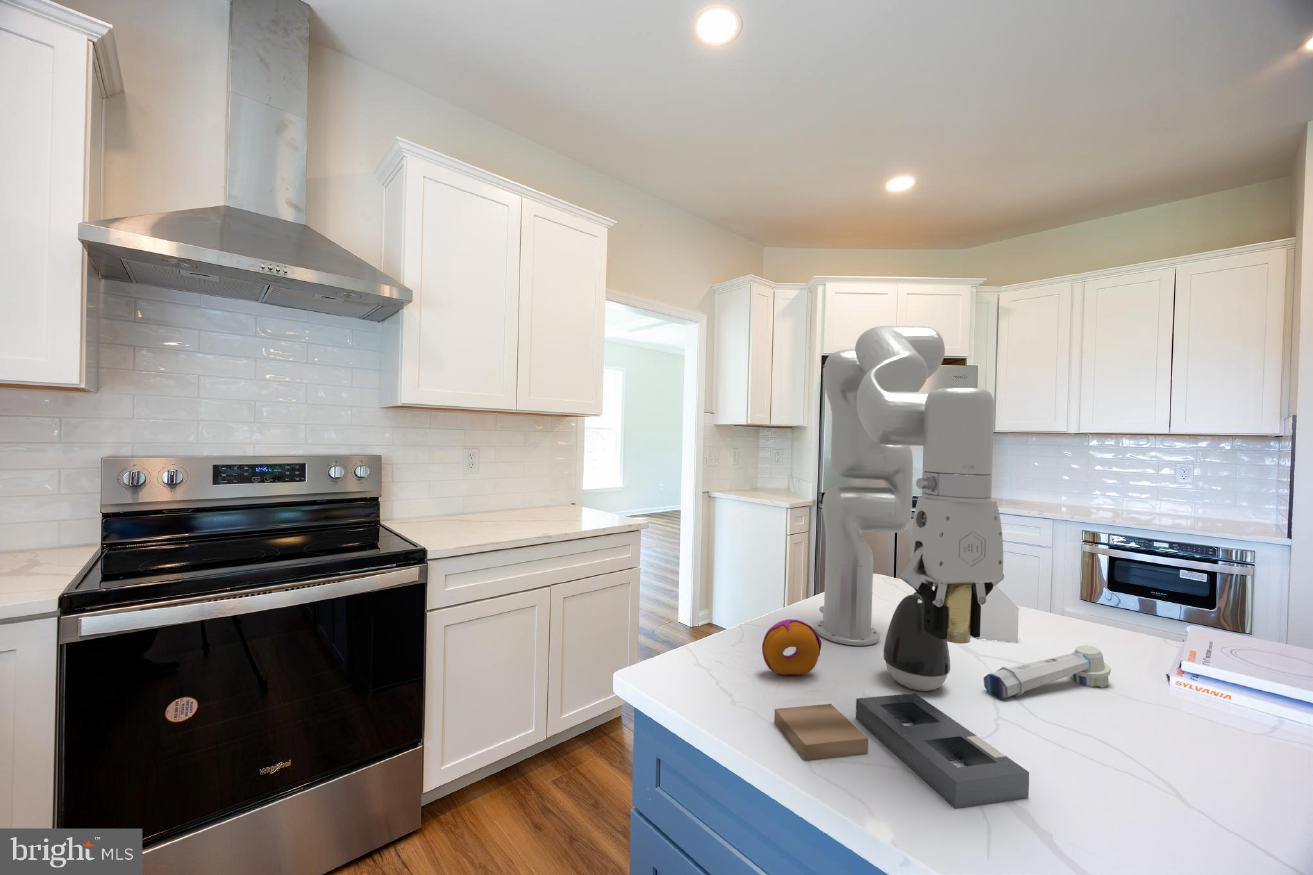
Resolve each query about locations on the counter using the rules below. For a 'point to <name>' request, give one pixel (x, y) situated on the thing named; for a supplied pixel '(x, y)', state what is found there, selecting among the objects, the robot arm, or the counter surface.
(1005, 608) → the corner bracket
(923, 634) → the black egg pod
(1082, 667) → the grey mallet
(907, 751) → the rail
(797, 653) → the donut
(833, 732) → the brown flat square block
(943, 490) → the robot arm
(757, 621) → the counter surface
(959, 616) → the brass peg
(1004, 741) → the counter surface
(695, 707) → the counter surface
